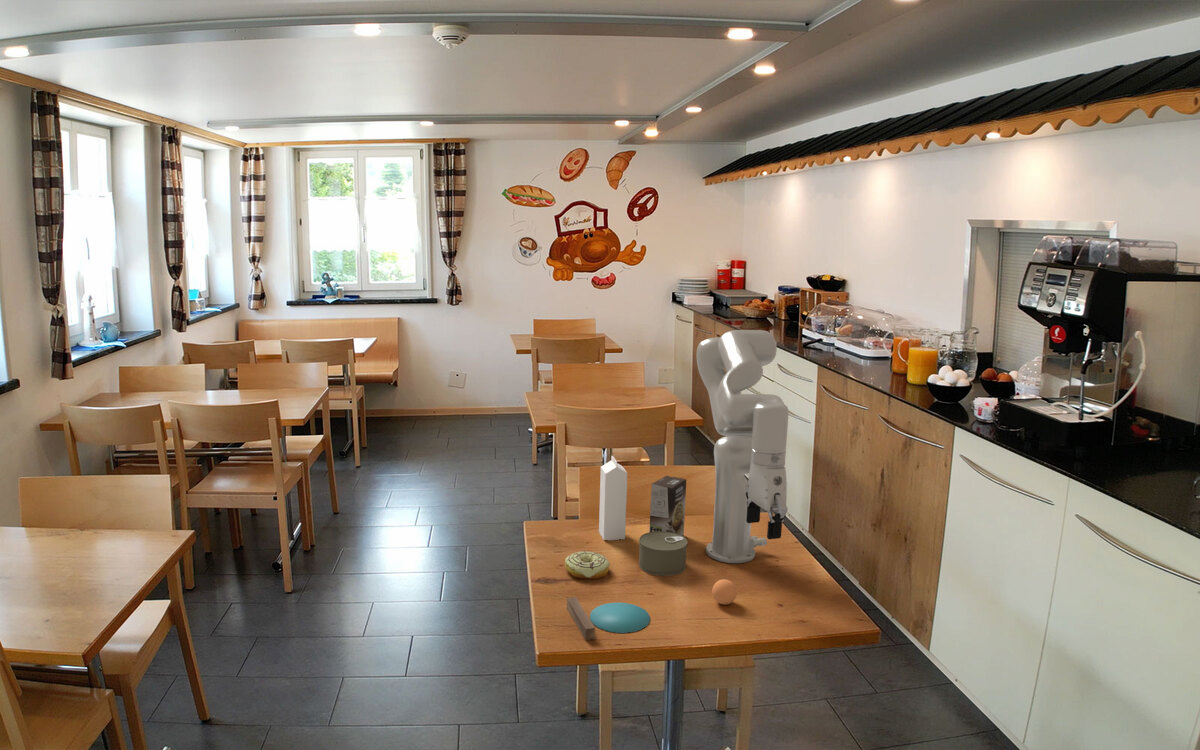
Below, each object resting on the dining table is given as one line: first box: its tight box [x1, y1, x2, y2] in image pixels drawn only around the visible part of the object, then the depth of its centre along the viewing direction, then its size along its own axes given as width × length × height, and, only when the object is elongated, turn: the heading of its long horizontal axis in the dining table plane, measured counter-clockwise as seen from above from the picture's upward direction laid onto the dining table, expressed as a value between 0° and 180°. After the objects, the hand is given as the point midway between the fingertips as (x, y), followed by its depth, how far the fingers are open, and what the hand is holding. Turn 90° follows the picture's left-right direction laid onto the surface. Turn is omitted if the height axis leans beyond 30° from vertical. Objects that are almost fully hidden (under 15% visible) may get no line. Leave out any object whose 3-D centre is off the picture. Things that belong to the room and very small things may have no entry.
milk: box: [598, 455, 628, 541], centre depth 217 cm, size 6×6×22 cm
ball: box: [711, 578, 738, 605], centre depth 182 cm, size 6×6×6 cm
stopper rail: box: [566, 596, 596, 641], centre depth 172 cm, size 2×14×2 cm, turn 18°
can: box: [638, 531, 689, 577], centre depth 201 cm, size 12×12×7 cm
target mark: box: [589, 602, 651, 634], centre depth 175 cm, size 13×13×1 cm
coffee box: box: [648, 475, 687, 537], centre depth 217 cm, size 9×6×16 cm
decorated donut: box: [564, 551, 611, 580], centre depth 197 cm, size 10×11×4 cm
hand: (763, 530), depth 182 cm, fingers open, 9 cm apart
